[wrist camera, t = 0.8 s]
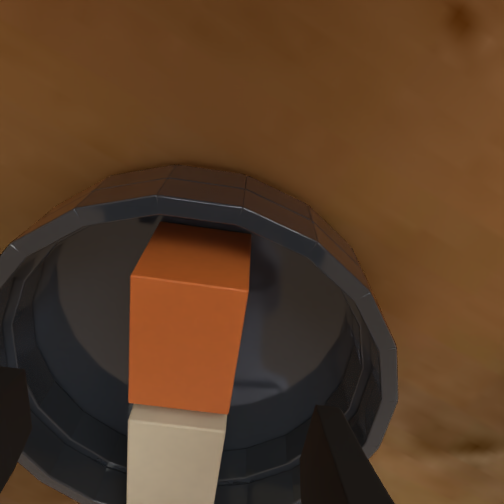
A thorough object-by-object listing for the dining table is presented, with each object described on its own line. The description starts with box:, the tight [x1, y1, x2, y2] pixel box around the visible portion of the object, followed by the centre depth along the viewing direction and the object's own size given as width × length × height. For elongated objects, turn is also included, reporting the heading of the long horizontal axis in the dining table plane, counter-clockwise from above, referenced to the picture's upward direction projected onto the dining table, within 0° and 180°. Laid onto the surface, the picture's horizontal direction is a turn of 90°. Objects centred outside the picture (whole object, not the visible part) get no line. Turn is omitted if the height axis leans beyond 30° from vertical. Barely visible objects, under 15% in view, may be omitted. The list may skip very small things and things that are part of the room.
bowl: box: [0, 165, 398, 504], centre depth 17 cm, size 15×15×4 cm
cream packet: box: [126, 404, 227, 504], centre depth 18 cm, size 5×3×4 cm
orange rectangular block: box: [128, 222, 251, 415], centre depth 15 cm, size 5×3×4 cm
